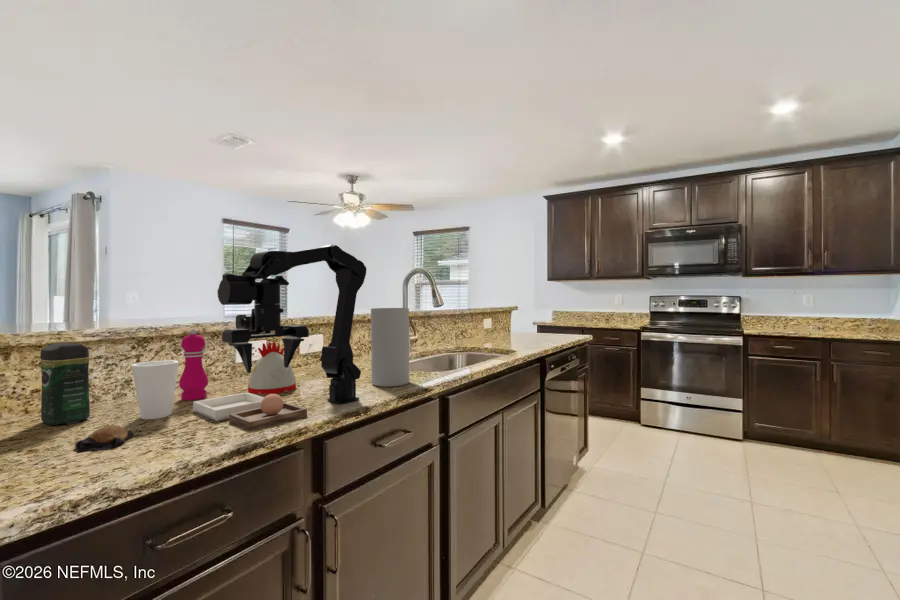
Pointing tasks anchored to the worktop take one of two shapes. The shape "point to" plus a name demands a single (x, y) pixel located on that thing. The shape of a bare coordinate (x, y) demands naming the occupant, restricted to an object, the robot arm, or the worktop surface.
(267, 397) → the ball
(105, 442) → the turtle figurine
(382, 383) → the cylinder vase
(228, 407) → the dish
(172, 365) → the foam cup
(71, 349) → the coffee jar
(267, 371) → the grey and red dome
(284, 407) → the tray
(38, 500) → the worktop surface
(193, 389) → the pepper mill
